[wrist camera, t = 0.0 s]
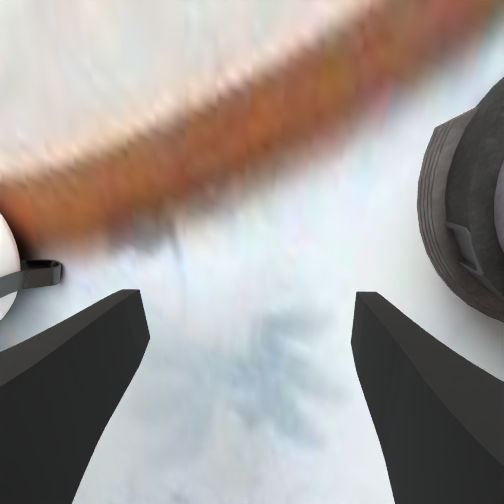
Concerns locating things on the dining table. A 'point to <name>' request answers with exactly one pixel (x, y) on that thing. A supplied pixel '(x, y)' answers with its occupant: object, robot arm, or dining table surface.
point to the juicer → (467, 203)
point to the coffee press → (21, 270)
